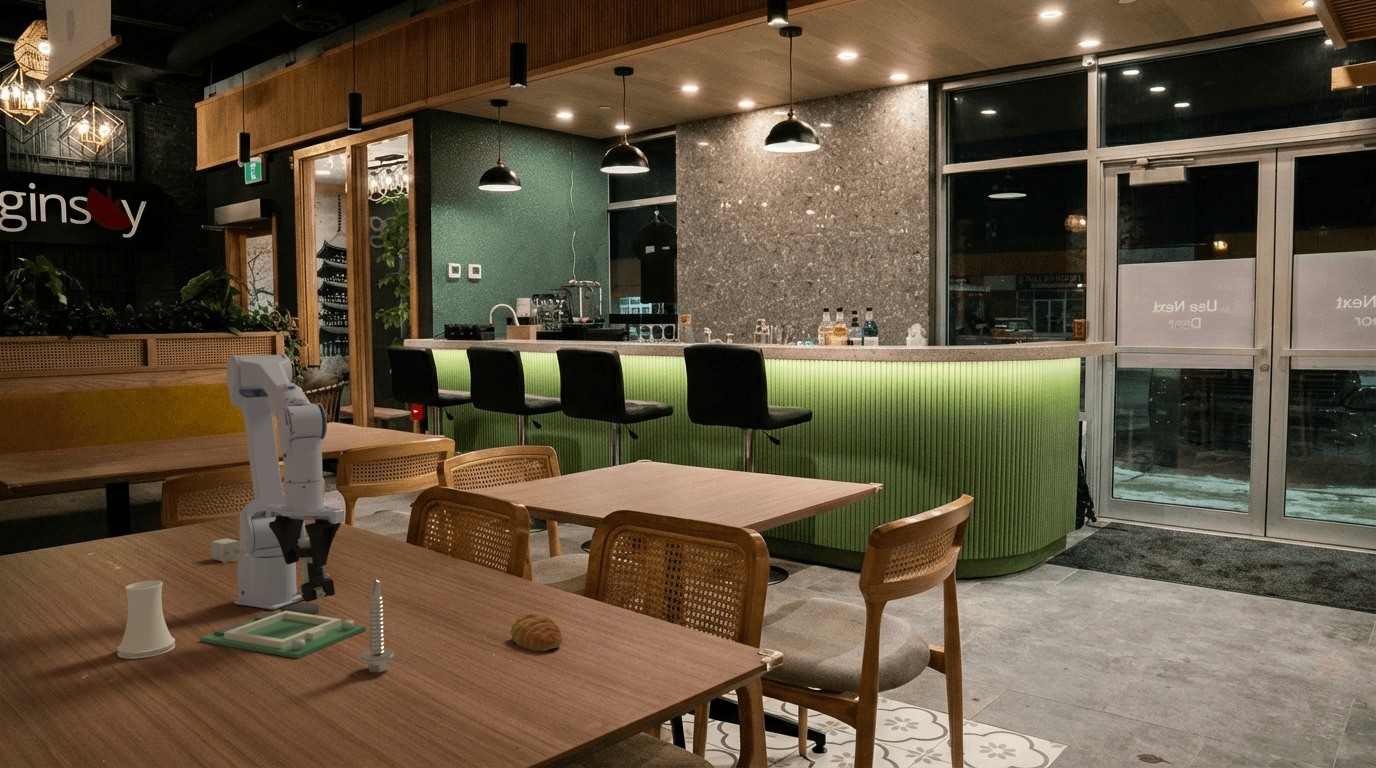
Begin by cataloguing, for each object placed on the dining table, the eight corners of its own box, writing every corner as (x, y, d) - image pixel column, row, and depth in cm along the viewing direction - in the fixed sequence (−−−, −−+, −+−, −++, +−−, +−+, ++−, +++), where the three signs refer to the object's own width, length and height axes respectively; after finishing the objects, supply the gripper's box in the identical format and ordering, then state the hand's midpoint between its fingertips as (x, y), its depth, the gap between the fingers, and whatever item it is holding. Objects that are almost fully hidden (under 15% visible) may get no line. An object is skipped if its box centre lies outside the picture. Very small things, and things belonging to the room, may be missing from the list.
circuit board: (200, 641, 145) (199, 629, 145) (272, 615, 158) (272, 605, 158) (297, 658, 137) (297, 646, 137) (365, 630, 150) (365, 619, 150)
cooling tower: (115, 662, 136) (112, 594, 135) (119, 646, 143) (116, 582, 142) (174, 653, 140) (172, 587, 139) (175, 639, 146) (173, 575, 146)
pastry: (573, 648, 142) (573, 623, 141) (533, 658, 138) (532, 632, 137) (545, 632, 149) (544, 608, 149) (505, 641, 145) (505, 617, 145)
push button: (297, 608, 148) (288, 547, 147) (288, 600, 152) (279, 541, 151) (340, 596, 152) (331, 537, 151) (329, 588, 156) (321, 530, 155)
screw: (403, 667, 133) (375, 678, 129) (380, 661, 136) (352, 671, 132) (400, 577, 132) (373, 585, 128) (377, 572, 135) (349, 580, 131)
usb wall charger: (230, 556, 200) (229, 537, 200) (247, 560, 196) (247, 542, 196) (211, 560, 197) (211, 541, 196) (229, 564, 193) (228, 545, 192)
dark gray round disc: (272, 617, 158) (272, 610, 158) (300, 608, 163) (300, 601, 163) (299, 622, 156) (299, 614, 155) (326, 612, 161) (326, 605, 161)
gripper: (249, 481, 149) (252, 566, 150) (319, 486, 143) (322, 574, 144) (283, 475, 155) (286, 556, 156) (352, 479, 150) (355, 563, 150)
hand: (305, 564), depth 150 cm, fingers closed on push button, 5 cm apart
